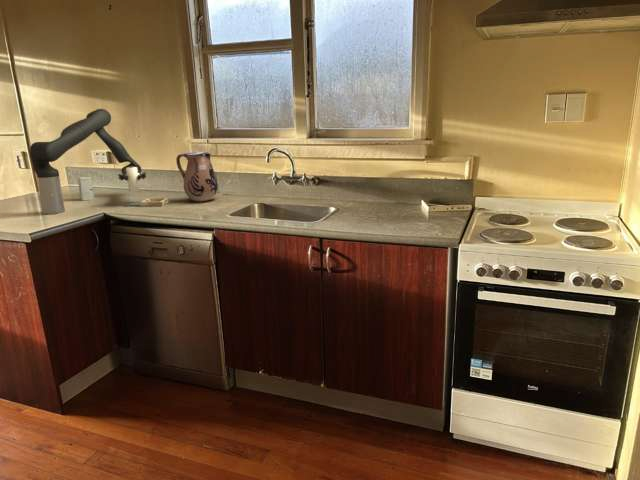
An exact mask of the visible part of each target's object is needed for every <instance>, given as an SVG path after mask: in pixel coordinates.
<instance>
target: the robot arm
mask: <svg viewBox="0 0 640 480" xmlns="http://www.w3.org/2000/svg"><path fill="white" fill-rule="evenodd" d="M111 122H112V116H111V113H110V112H109V111H108V110H107V109H105V108H97V109H95V110H93V111H90V112H89V113H87V114H86V117H84V118H83V119H80V120H78V121H75V122H73V123H71V124H70V125H68V126H65V127H64V128H63V129H62V131H61V133H60V136H59V137H57V138H56V139H54V140H51V141H36V142H35V141H34V142H33V143H32V144H31V145H30V147H29V148H30V149H29V154H30V160H31V163H32V168H33V171H34V173H35V174H36V178H37V184H38V190H39V194H38V195H39V196H38V197H39V200H40V207H41V213H42V215H54V214H60V213H64V212H65V211H66V208H65V203H64V197H63V191H62V185H61V179H60V178H61V177H60V171H59V170H58V169H57V168H55V167H53V166H52V165H51V163H53V162H56V161H58V160H59V158H61V157H62V156H63V155H64V154H65V153H67V152H68V151H69V150H70V149H72V148H74V147H76V146H78V144H81V142H84V141H85V140H86V139H87V138H89V137H91V136H92V134H94V133H95V134H96V136H97V137H98V138H99V139H100V140H101V141H102V142H103V143H104V144H105V145H106V147H107V148H108V149H109V150H110V152H111V153H112V155H113V156H114V158H115V159H116V161H117V162H118V163H119V164H122V163H125V162H126V163H127V162H128V163H129V164H127V165H125V166H123V167H122V168H121V170H120V171H121V173H118V175H117V176H118V180H120V181H127V182H128V178H127V172H126V168H128V167H137V171H138V180H139V181H141V180H142V179H143V180H144V179H146V178H147V173H146V171H145V172H142V166H141V165H140V164H139V163H138V162H137V161H136V160H135V159H133V157H131V155H130V154H129V152H128V151H127V150H126V148H125V147H124V145H123V144H122V143H121V142H120V141H119V140H117V139H116V138H115V137H114V136H112V135H110V133H108V131H107V130H106V129H105V127H106V126H108V125H109V124H110V123H111Z"/></svg>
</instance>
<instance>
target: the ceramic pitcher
mask: <svg viewBox="0 0 640 480" xmlns="http://www.w3.org/2000/svg"><path fill="white" fill-rule="evenodd" d="M182 157H185V158H186V160H187V164H186V165H187V166H186V168H185V169H186V170H185V171H184V169H183V167H182V164H181V158H182ZM175 162H176V165H177V168H178V171H179V173H180V174H181V176H182V178H183V190H184V192H185V195H186V197H188V198H189V199H190V200H192V201H193V202H207V201H211V200H212V199H214V198H215V196H216V195H217V193H218V190H219V184H218V179H217V176H216V173H215V170H214V167H213V165H212V161H211V153H210V152H206V151H201V152H196V151H195V152H182V153H179V154H178V155H177V156H176V161H175Z"/></svg>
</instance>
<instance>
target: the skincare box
mask: <svg viewBox="0 0 640 480" xmlns="http://www.w3.org/2000/svg"><path fill="white" fill-rule="evenodd" d="M77 182H78V189H79V190H78V191H79V197H80V200H81V201H93V200H95V195H94V187H93V181H92V177H90V176H87V177H77Z"/></svg>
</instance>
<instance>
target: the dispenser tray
mask: <svg viewBox="0 0 640 480" xmlns="http://www.w3.org/2000/svg"><path fill="white" fill-rule="evenodd" d="M141 201H142V202H140V206H139V207H142V208H143V207H163V206H165V205H167V204H169V203H170V197H150V198H149V197H148V198H146V199H144V200H141Z"/></svg>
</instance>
